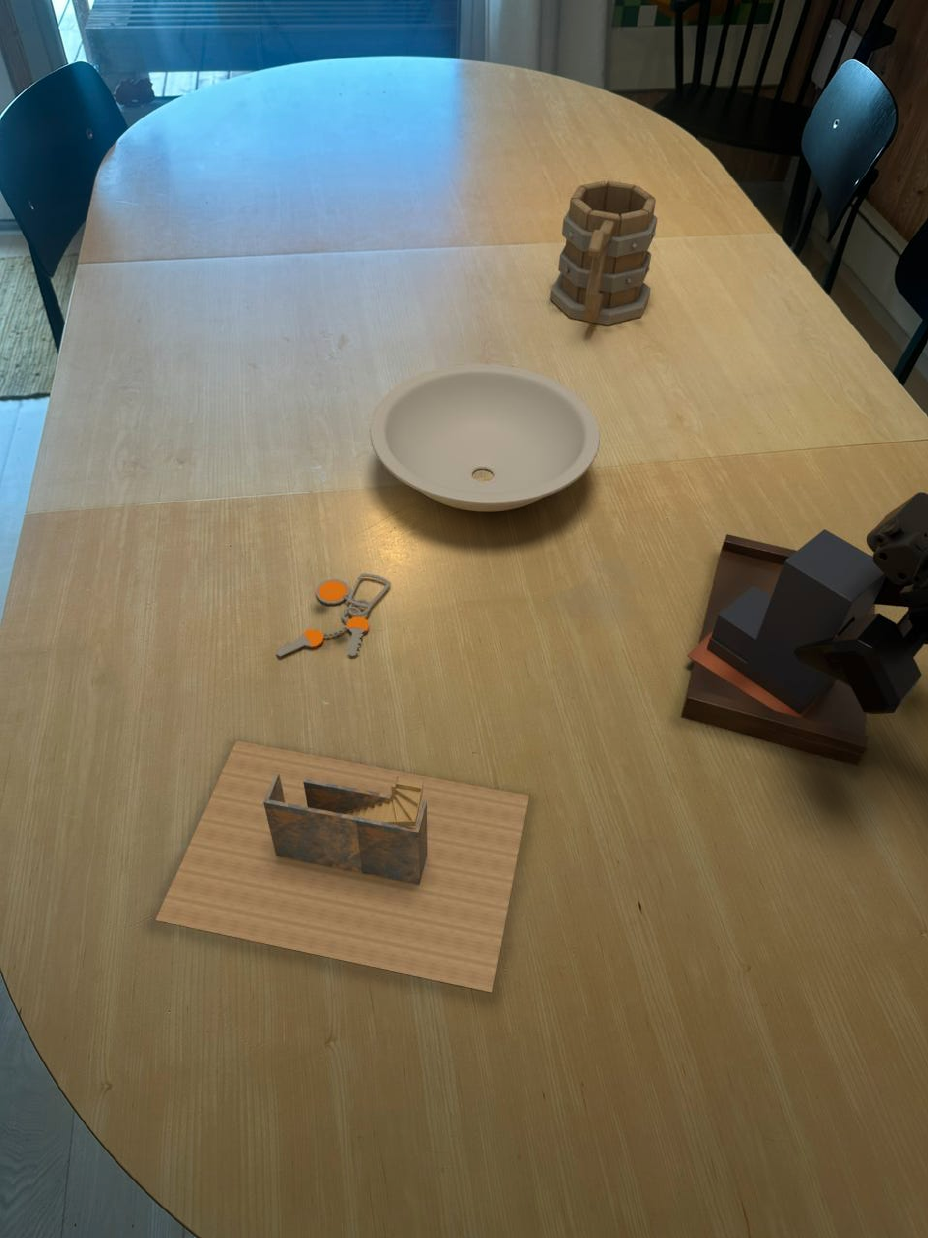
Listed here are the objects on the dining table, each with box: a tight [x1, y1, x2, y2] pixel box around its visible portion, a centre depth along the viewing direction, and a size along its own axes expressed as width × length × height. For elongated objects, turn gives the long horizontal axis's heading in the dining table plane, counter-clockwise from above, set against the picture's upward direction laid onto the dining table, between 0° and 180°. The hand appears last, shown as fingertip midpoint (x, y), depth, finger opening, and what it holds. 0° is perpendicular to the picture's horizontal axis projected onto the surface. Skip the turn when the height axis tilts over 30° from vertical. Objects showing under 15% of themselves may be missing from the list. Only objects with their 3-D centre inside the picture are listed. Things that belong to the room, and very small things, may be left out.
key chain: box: [275, 572, 392, 658], centre depth 91 cm, size 13×7×1 cm, turn 158°
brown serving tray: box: [680, 533, 876, 766], centre depth 89 cm, size 16×22×3 cm
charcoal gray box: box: [707, 528, 886, 714], centre depth 81 cm, size 10×6×14 cm, turn 43°
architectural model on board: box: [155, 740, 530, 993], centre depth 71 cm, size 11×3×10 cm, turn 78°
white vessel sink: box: [369, 363, 601, 513], centre depth 103 cm, size 24×24×7 cm
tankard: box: [549, 179, 658, 326], centre depth 124 cm, size 20×13×15 cm, turn 162°
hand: (825, 624), depth 79 cm, fingers open, 9 cm apart
